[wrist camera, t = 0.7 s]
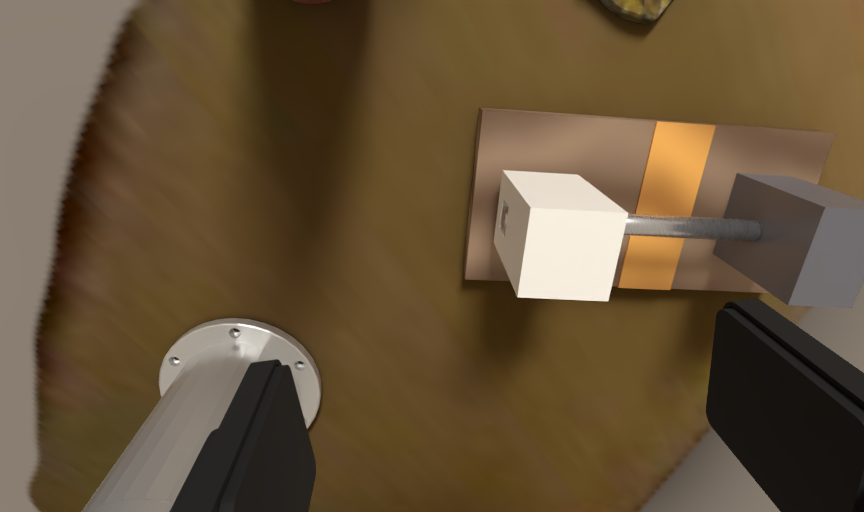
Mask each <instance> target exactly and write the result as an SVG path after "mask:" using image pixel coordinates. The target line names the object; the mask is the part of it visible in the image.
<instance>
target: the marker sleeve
mask: <svg viewBox="0 0 864 512" xmlns="http://www.w3.org/2000/svg"><path fill="white" fill-rule="evenodd" d="M504 206H507V207H509V208H508V215H507V223H506V229H503V228H502V225H501V217H502V210H503V207H504ZM627 218H628V212H626V211H625V210H624V209H622V208H621V207H620V206H618V205H617V204H616V203H615V202H613V201H612V200H611V199H609V198H608V197H607V196H605V195H604V194H603V193H601V192H600V191H599V190H598V189H596V188H595V187H594V186H592V185H591V184H590V183H588V182H587V181H586V180H584V179H583V178H582V177H581V176H579V175H576V174H559V173H542V172H526V171H509V170H503V171H502V179H501V187H500V195H499V203H498V211H497V219H496V227H495V235H494V244H495V247H496V249H497V251H498V254H499V256H500V258H501V261H502V263H503V265H504V268H505V270H506V272H507V275H508V277H509V279H510V282H511V284H512V286H513V289H514V291H515V293H516V295H517V297H520V298H543V299H566V300H590V301H609V296H610V292H611V288H612V283H613V279H614V274H615V270H616V266H617V261H618V257H619V253H620V248H621V244H622V239H623V235H624V231H625V226H626V222H627Z"/></svg>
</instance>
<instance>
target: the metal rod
mask: <svg viewBox="0 0 864 512" xmlns="http://www.w3.org/2000/svg"><path fill="white" fill-rule="evenodd" d="M508 208H509V207H507V206H504V207H503V210H502V217H501V225H502V228H503V229H506V223H507V215H508ZM624 235H632V236H651V237H670V238H689V239H708V240H727V241H746V242H757V241H759V240H760V239H761V237H762V235H763V225H762V223H761V222H760V221H758V220H742V219H724V218H706V217H688V216H670V215H651V214H633V213H628V218H627V222H626V226H625V231H624Z"/></svg>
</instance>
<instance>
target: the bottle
mask: <svg viewBox="0 0 864 512" xmlns="http://www.w3.org/2000/svg"><path fill="white" fill-rule="evenodd" d="M292 1H296V2H299V3H303V4H321V3H327V2H330V1H332V0H292Z"/></svg>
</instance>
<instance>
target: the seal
mask: <svg viewBox="0 0 864 512" xmlns="http://www.w3.org/2000/svg"><path fill="white" fill-rule="evenodd" d="M599 1H600V2H601V3H602V4H604V6H605V7H606V8H607V9H608V10H610V11H612V12H613V13H615V14H617V15H618V16H620V17H621V18H623V19H625V20H628V21H631V22H635V23H643V24H650V23H652V22H654V21H655V20H656V19H657V18H658V17H659V16H660V15H661V13H662V12H663V11H664V10H665V9H666V7H667V6H668V5H669V4H670V2H671V1H672V0H599Z"/></svg>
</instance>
